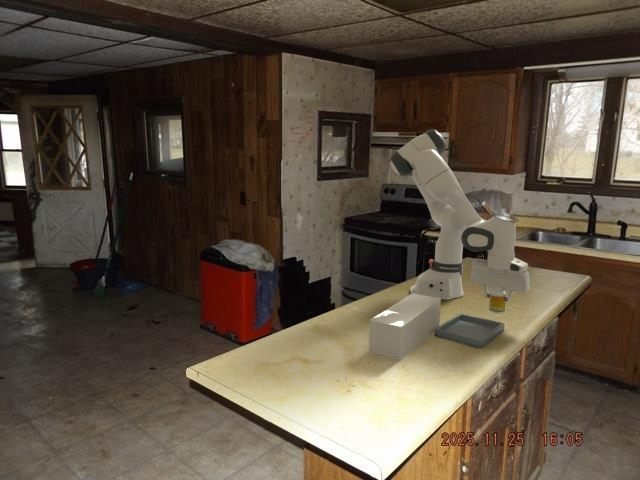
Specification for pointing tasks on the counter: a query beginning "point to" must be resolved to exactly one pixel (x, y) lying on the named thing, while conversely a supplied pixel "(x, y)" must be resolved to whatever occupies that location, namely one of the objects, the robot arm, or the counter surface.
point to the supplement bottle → (497, 300)
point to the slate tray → (470, 330)
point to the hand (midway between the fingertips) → (497, 299)
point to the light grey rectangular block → (404, 326)
